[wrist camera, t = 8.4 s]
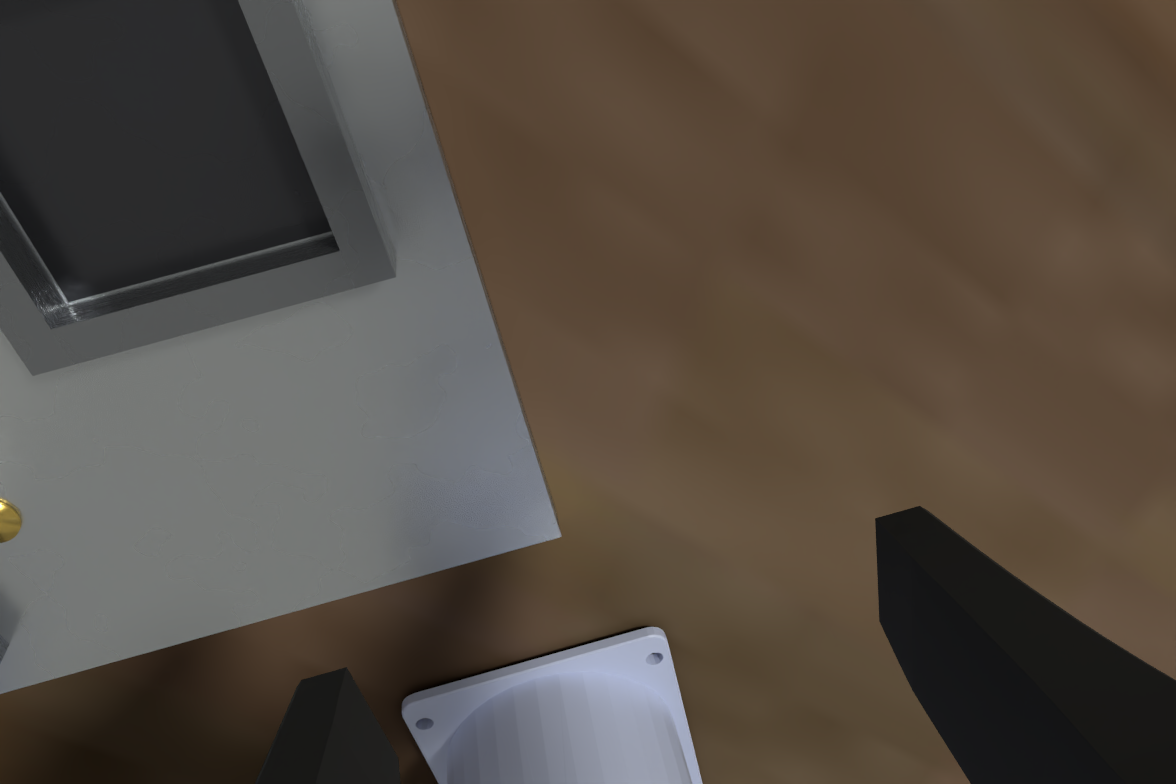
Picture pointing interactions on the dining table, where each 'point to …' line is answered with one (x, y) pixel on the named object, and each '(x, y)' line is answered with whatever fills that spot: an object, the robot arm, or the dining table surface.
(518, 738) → the robot arm
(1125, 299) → the dining table surface
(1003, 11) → the dining table surface
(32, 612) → the switch plate
